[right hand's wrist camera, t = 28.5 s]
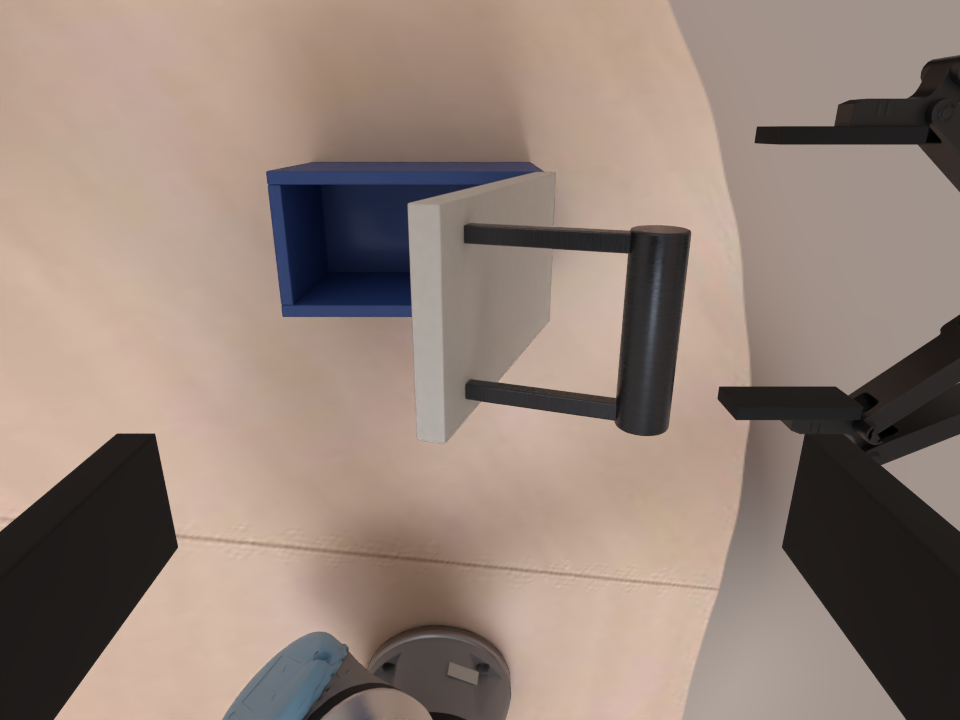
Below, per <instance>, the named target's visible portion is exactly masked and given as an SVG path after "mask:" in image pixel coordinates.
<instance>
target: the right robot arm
mask: <svg viewBox="0 0 960 720" xmlns="http://www.w3.org/2000/svg"><path fill="white" fill-rule="evenodd" d="M177 548H178V545H177V540H176V535H175V530H174V525H173V520H172V515H171V510H170V505H169V500H168V495H167V490H166V485H165V480H164V476H163V471H162V466H161V461H160V456H159V451H158V446H157V441H156V436H155V434H116V435H115V436H114V437H113V438H111V439H110V440H109V441H108V442H107V443H105V444H104V445H103V446H102V447H101V448H99V449H98V450H97V451H96V452H95V453H93V454H92V455H91V456H90V457H89V458H88V459H86V460H85V461H84V462H83V463H82V464H80V465H79V466H78V467H77V468H76V469H74V470H73V471H72V472H71V473H70V474H68V475H67V476H66V477H65V478H64V479H63V480H61V481H60V482H59V483H58V484H57V485H55V486H54V487H53V488H52V489H51V490H49V491H48V492H47V493H46V494H45V495H43V496H42V497H41V498H40V499H39V500H37V501H36V502H35V503H34V504H33V505H32V506H30V507H29V508H28V509H27V510H26V511H24V512H23V513H22V514H21V515H20V516H18V517H17V518H16V519H15V520H14V521H12V522H11V523H10V524H9V525H8V526H7V527H5V528H4V529H3V530H2V531H1V532H0V720H54V719H55V717H56V716H57V714H58V713H59V712H60V710H61V709H62V708H63V706H64V705H65V703H66V702H67V701H68V699H69V698H70V696H71V695H72V694H73V692H74V691H75V689H76V688H77V687H78V685H79V684H80V683H81V681H82V680H83V678H84V677H85V676H86V674H87V673H88V671H89V670H90V669H91V667H92V666H93V665H94V663H95V662H96V660H97V659H98V658H99V656H100V655H101V653H102V652H103V651H104V649H105V648H106V647H107V645H108V644H109V642H110V641H111V640H112V638H113V637H114V635H115V634H116V633H117V631H118V630H119V629H120V627H121V626H122V624H123V623H124V622H125V620H126V619H127V617H128V616H129V615H130V613H131V612H132V610H133V609H134V608H135V606H136V605H137V604H138V602H139V601H140V599H141V598H142V597H143V595H144V594H145V592H146V591H147V590H148V588H149V587H150V586H151V584H152V583H153V581H154V580H155V579H156V577H157V576H158V574H159V573H160V572H161V570H162V569H163V568H164V566H165V565H166V563H167V562H168V561H169V559H170V558H171V556H172V555H173V554H174V552H175V551H176V550H177ZM782 548H783V550H784V551H785V552H786V554H787V555H788V556H789V558H790V559H791V561H792V562H793V563H794V565H795V566H796V568H797V569H798V570H799V572H800V573H801V574H802V576H803V577H804V579H805V580H806V581H807V583H808V584H809V586H810V587H811V588H812V590H813V591H814V592H815V594H816V595H817V597H818V598H819V599H820V601H821V602H822V604H823V605H824V606H825V608H826V609H827V610H828V612H829V613H830V615H831V616H832V617H833V619H834V620H835V622H836V623H837V624H838V626H839V627H840V629H841V630H842V631H843V633H844V634H845V635H846V637H847V638H848V640H849V641H850V642H851V644H852V645H853V647H854V648H855V649H856V651H857V652H858V653H859V655H860V656H861V658H862V659H863V660H864V662H865V663H866V665H867V666H868V667H869V669H870V670H871V671H872V673H873V674H874V676H875V677H876V678H877V680H878V681H879V683H880V684H881V685H882V687H883V688H884V689H885V691H886V692H887V694H888V695H889V696H890V698H891V699H892V701H893V702H894V703H895V705H896V706H897V708H898V709H899V710H900V712H901V713H902V714H903V716H904V717H905V719H906V720H960V532H959V531H958V530H957V529H956V528H955V527H953V526H952V525H951V524H950V523H949V522H947V521H946V520H945V519H944V518H943V517H942V516H940V515H939V514H938V513H937V512H936V511H934V510H933V509H932V508H931V507H930V506H928V505H927V504H926V503H925V502H924V501H923V500H921V499H920V498H919V497H918V496H917V495H915V494H914V493H913V492H912V491H911V490H909V489H908V488H907V487H906V486H905V485H903V484H902V483H901V482H900V481H899V480H897V479H896V478H895V477H894V476H893V475H891V474H890V473H889V472H888V471H887V470H886V469H884V468H883V467H882V466H881V465H880V464H878V463H877V462H876V461H875V460H874V459H872V458H871V457H870V456H869V455H868V454H867V453H865V452H864V451H863V450H862V449H861V448H859V447H858V446H857V445H856V444H855V443H853V442H852V441H851V440H850V439H849V438H847V437H846V436H845V435H844V434H805V436H804V441H803V446H802V451H801V456H800V461H799V466H798V471H797V476H796V480H795V485H794V490H793V495H792V500H791V505H790V510H789V515H788V520H787V525H786V530H785V535H784V540H783V545H782Z"/></svg>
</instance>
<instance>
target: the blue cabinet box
mask: <svg viewBox="0 0 960 720" xmlns="http://www.w3.org/2000/svg"><path fill="white" fill-rule="evenodd" d="M533 172H544V171H542V170H541V169H539V168H538V167H536V166H535V165H533V164H532V163H530V162H311V163H306V164H301V165H296V166H291V167H286V168H281V169H276V170H270V171H267V172H266V174H267V183H268V184H269V185H268V192H269V201H270V209H271V218H272V227H273V235H274V244H275V253H276V262H277V270H278V279H279V288H280V297H281V304H282V315H283V317H412V304H411V278H410V253H409V227H408V203H411V202H415V201H419V200H423V199H427V198H431V197H435V196H439V195H443V194H447V193H452V192H456V191H460V190H464V189H468V188H472V187H476V186H480V185H484V184H488V183H493V182H497V181H501V180H505V179H509V178H513V177H517V176H521V175H525V174H529V173H533Z"/></svg>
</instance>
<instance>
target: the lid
mask: <svg viewBox="0 0 960 720" xmlns="http://www.w3.org/2000/svg"><path fill="white" fill-rule="evenodd" d="M555 174H556V173H555V172H533V173H529V174H525V175H521V176H517V177H513V178H509V179H505V180H501V181H497V182H493V183H488V184H484V185H480V186H476V187H472V188H468V189H464V190H460V191H456V192H452V193H447V194H443V195H439V196H435V197H431V198H427V199H423V200H419V201H415V202H411V203H408V227H409V253H410V278H411V304H412V329H413V354H414V380H415V405H416V431H417V440H422V441H428V442H434V443H440V444H446V442H447V441H448V440H449V439H450V438H451V436H452V435H453V434H454V433H455V432H456V431H457V429H458V428H459V427H460V426H461V425H462V423H463V422H464V421H465V420H466V419H467V418H468V416H469V415H470V414H471V413H472V412H473V410H474V409H475V408H476V407H477V406H478V405H479V403H480V402H481V401H482V402H489V403H496V404H503V405H510V406H517V407H524V408H531V409H538V410H545V411H552V412H559V413H566V414H573V415H580V416H587V417H594V418H601V419H607V420H614V421H615V424H616V426H617V427H618V428H619V429H621V430H623V431H625V432H627V433H630V434H634V435H640V436H654V435H659V434H662V433H664V432H665V431H666V430H667V429H668V427H669V419H670V410H671V402H672V393H673V385H674V376H675V367H676V359H677V350H678V342H679V333H680V325H681V316H682V308H683V299H684V291H685V282H686V274H687V265H688V257H689V248H690V240H691V231H690V230H688V229H686V228H681V227H675V226H662V225H646V226H637V227H633V228H631V230H630V231H623V230H603V229H583V228H563V227H553V223H554V198H555ZM552 249H563V250H580V251H596V252H612V253H628V263H627V275H626V287H625V299H624V311H623V323H622V335H621V347H620V359H619V371H618V383H617V395H616V398H611V397H603V396H595V395H588V394H580V393H573V392H565V391H558V390H550V389H543V388H535V387H527V386H520V385H512V384H505V383H497V382H498V381H499V380H500V379H501V377H502V376H503V375H504V374H505V373H506V372H507V370H508V369H509V368H510V367H511V366H512V364H513V363H514V362H515V361H516V360H517V359H518V357H519V356H520V355H521V354H522V353H523V351H524V350H525V349H526V348H527V347H528V346H529V344H530V343H531V342H532V341H533V340H534V338H535V337H536V336H537V335H538V334H539V333H540V331H541V330H542V329H543V328H544V327H545V325H546V324H547V323H548V322H549V320H550V297H551V272H552Z"/></svg>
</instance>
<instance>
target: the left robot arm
mask: <svg viewBox="0 0 960 720" xmlns="http://www.w3.org/2000/svg"><path fill="white" fill-rule="evenodd" d="M921 80H922V83H921V84H920V86H919V88H918V89H917V91H916V92H915V93H914V94H913V95H912V96H910V97H909V98H907V99H858V100H849V101H846V102H844V103H842V104H839V105H838V109H837V115H836V120H835V125H834V126H827V127H826V126H825V127H824V126H819V127H817V126H811V127H810V126H809V127H808V126H802V127H801V126H796V127H795V126H792V127H791V126H783V127H781V126H780V127H757V130H756V137H755V143H762V144H918V145H919V146H920V148H921V149H922V150H923V151H924V152H925V153H926V154H927V156H928V157H929V158H930V159H931V160H932V161H933V162H934V163H935V165H936V166H937V167H938V168H939V169H940V170H941V171H942V172H943V174H944V175H945V176H946V177H947V178H948V179H949V180H950V181H951V183H952V184H953V185H954V186H955V187H956V188H957V189H958V191H959V192H960V55H958V56H952V57H945V58H940V59H933V60H931V61H929V62H928V63H927V64H926V65H925V66H924V67H923V69H922V71H921ZM940 331H941V333H940V335H939V336H937V337H936V338H934V339H933V340H931V341H930V342H928V343H927V344H925V345H924V346H922V347H921V348H919V349H918V350H916V351H915V352H913V353H912V354H910V355H909V356H907V357H906V358H904V359H903V360H901V361H900V362H898V363H897V364H895V365H894V366H892V367H891V368H889V369H888V370H886V371H885V372H883V373H882V374H880V375H879V376H877V377H876V378H874V379H872V380H871V381H870V382H868V383H866V384H865V385H863V386H862V387H860V388H859V389H857V390H856V391H854V392H853V393H851V394H850V395H846V394H845V393H844V392H842V391H841V390H840V389H838V388H837V387H719V392H718V400H719V401H720V402H721V403H722V405H723V406H724V407H725V408H726V409H727V410H728V411H729V413H730V414H731V415H732V416H733V417H734V418H735V419H736V420H781V421H782V422H783V423H784V424H785V425H786V426H787V427H788V428H789V429H790V430H791V431H794V432H796V433H799V434H844V435H845V436H846V437H847V438H849V439H850V440H851V441H852V442H853V443H855V444H856V445H857V446H858V447H859V448H861V449H862V450H863V451H864V452H865V453H867V454H868V455H869V456H870V457H871V458H872V459H874V460H875V461H876V462H877V463H878V464H880V465H883V464H885V463H888V462H890V461H893V460H895V459H898V458H900V457H903V456H905V455H908V454H910V453H913V452H915V451H918V450H920V449H923V448H926V447H928V446H931V445H933V444H936V443H938V442H941V441H943V440H946V439H948V438H951V437H953V436H956V435H959V434H960V383H958V382H960V315H958V316H957V317H955V318H954V319H952V320H951V321H949V322H948V323H946V324H945V325H944V326H943V327H942V328H941V329H940ZM957 383H958V384H957ZM955 384H956V385H955ZM510 699H511V685H510V674H509V670H508V666H507V664H506V662H505V660H504V658H503V657H502V655H501V654H500V653H499V651H498V650H497V649H496V648H495V647H494V646H493V645H491V644H490V643H489V642H488V641H486V640H485V639H483V638H481V637H480V636H478V635H476V634H474V633H471V632H469V631H466V630H463V629H459V628H454V627H448V626H426V627H419V628H415V629H411V630H408V631H405V632H402V633H400V634H398V635H396V636H394V637H393V638H391V639H389V640H388V641H387V642H385V643H384V644H383V645H382V646H381V647H380V648H379V649H378V650H377V651H376V653H375V654H374V656H373V657H372V659H371V661H370V664H369V666H368V670H367V669H366V668H364V667H363V666H362V665H361V664H360V663H359V662H358V661H357V660H356V659H355V658H354V657H353V656H352V655H351V654H350V652H349V651H348V646H347V645H346V644H342V643H340V642H339V641H338V640H337V639H336V638H335V637H333V636H332V635H331V634H329V633H326V632H314V633H310V634H307V635H305V636H303V637H301V638H299V639H297V640H296V641H294V642H292V643H291V644H290V645H288V646H287V647H286V648H284V649H283V650H282V651H280V652H279V653H278V654H277V655H276V656H274V657H273V658H272V659H271V660H270V661H269V662H268V663H267V664H266V665H265V666H264V667H263V668H262V669H261V670H260V671H259V672H258V673H257V674H256V675H255V676H254V677H253V679H252V680H251V681H250V682H249V683H248V684H247V686H246V687H245V688H244V689H243V690H242V692H241V693H240V694H239V696H238V697H237V698H236V700H235V701H234V702H233V704H232V705H231V707H230V708H229V710H228V711H227V713H226V714H225V716H224V717H223V719H222V720H505V719H506V716H507V713H508V709H509V704H510Z"/></svg>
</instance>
